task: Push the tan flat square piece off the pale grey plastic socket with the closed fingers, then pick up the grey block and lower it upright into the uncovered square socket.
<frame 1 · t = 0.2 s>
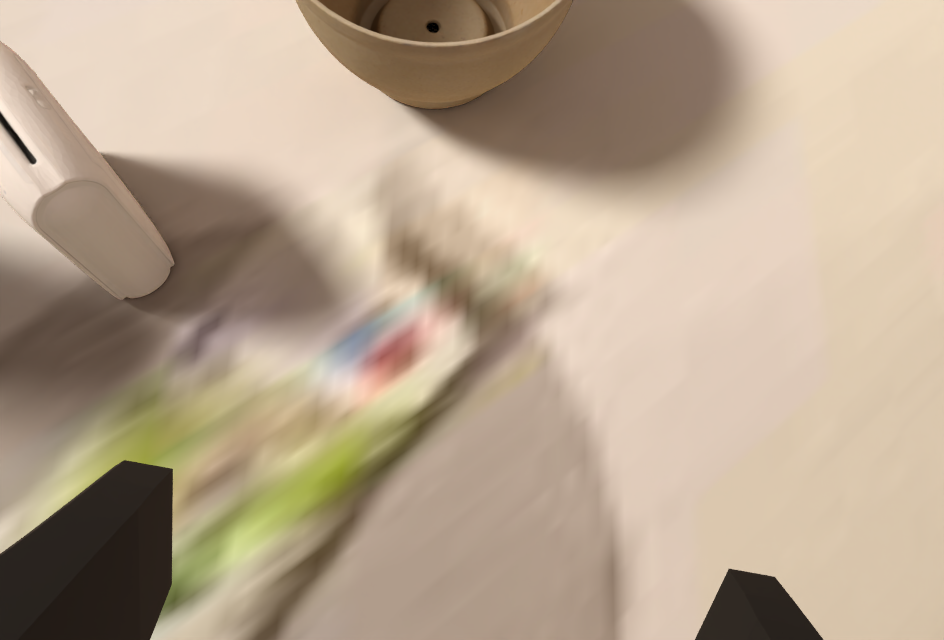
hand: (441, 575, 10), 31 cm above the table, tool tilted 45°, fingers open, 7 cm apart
planter bowl: (435, 46, 49), on the table
photo printer: (108, 226, 45), on the table
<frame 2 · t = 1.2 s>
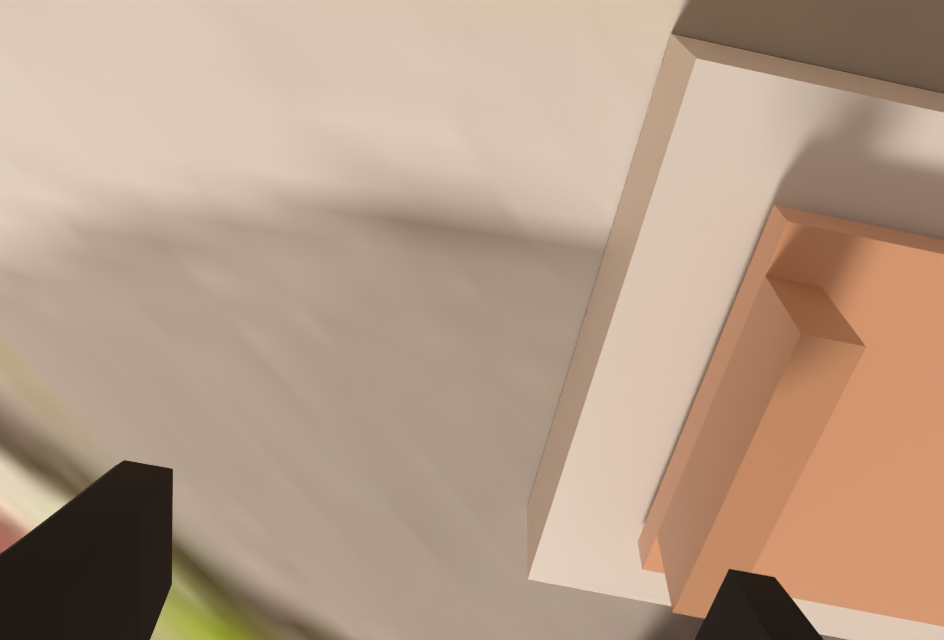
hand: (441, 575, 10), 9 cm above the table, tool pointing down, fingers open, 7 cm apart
socket: (843, 359, 18), on the table
tan flat square piece: (924, 478, 15), point 4 cm above the table, slide at 0.0 cm
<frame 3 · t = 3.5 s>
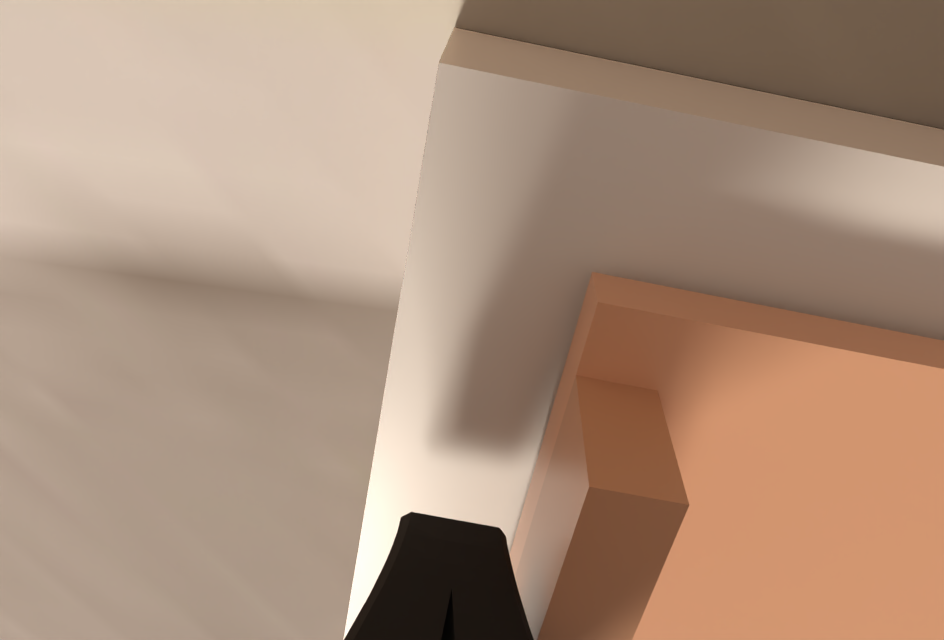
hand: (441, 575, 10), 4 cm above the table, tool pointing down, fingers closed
socket: (725, 444, 14), on the table
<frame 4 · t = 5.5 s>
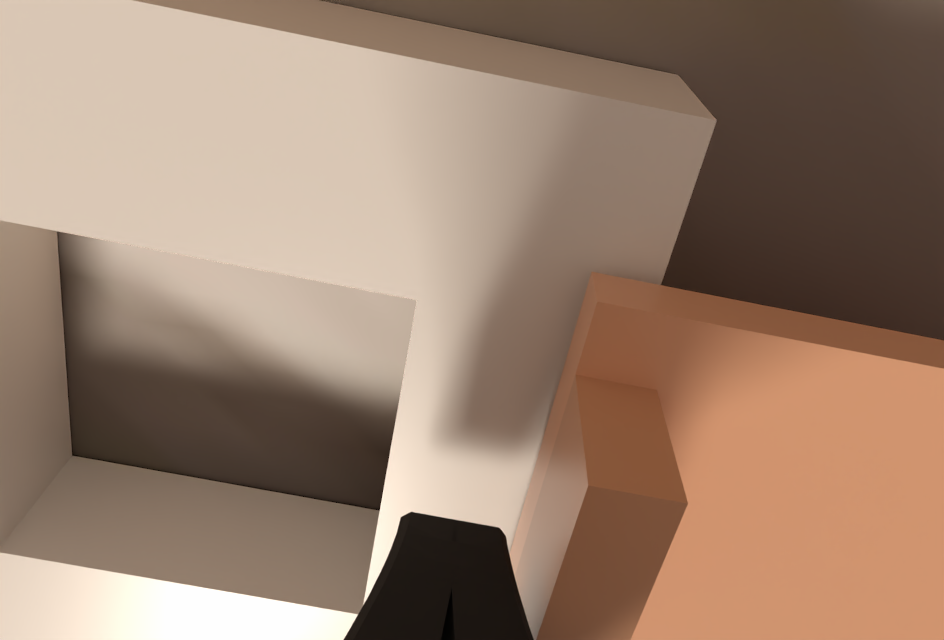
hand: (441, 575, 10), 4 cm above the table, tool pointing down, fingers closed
socket: (236, 352, 14), on the table
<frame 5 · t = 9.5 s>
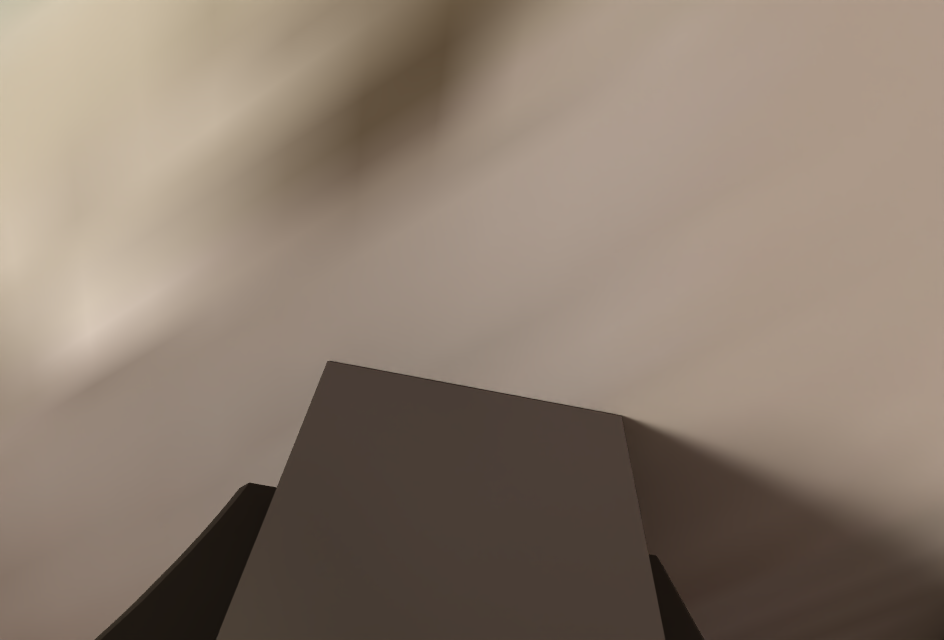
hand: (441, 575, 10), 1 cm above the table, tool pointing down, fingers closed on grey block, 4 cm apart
grey block: (449, 501, 12), on the table, touching gripper
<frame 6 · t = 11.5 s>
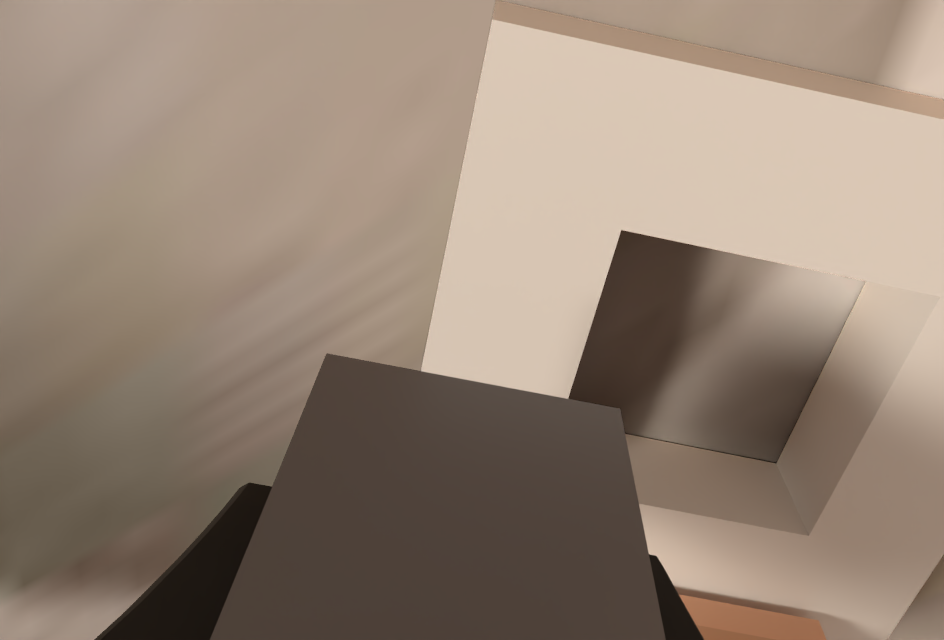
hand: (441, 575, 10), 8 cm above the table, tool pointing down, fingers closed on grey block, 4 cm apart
socket: (699, 336, 18), on the table
grey block: (448, 494, 12), point 7 cm above the table, touching gripper
when the fingers open (3 cm above the table, at t = 13.6 s): grey block drops 2 cm, resting in socket.
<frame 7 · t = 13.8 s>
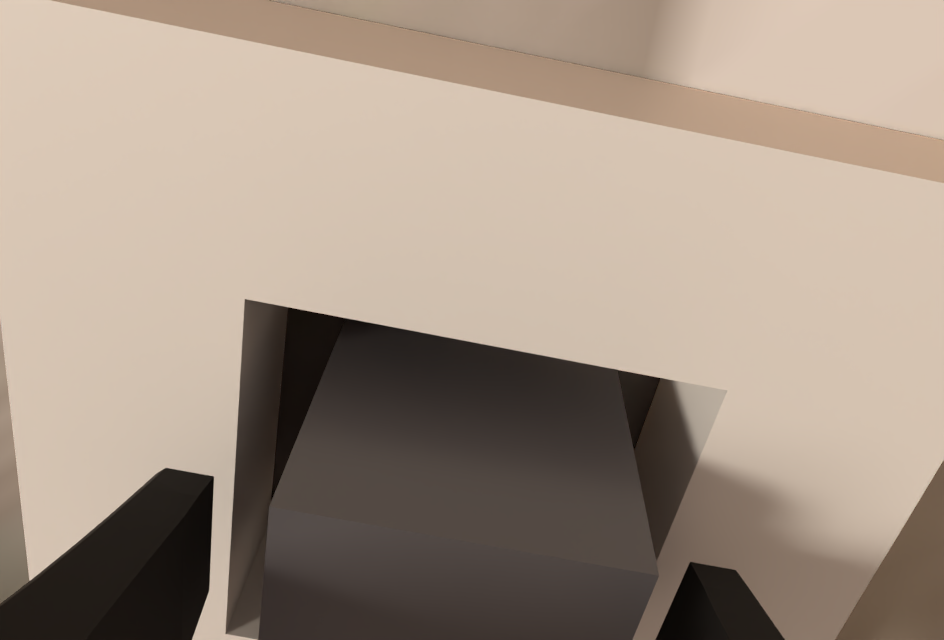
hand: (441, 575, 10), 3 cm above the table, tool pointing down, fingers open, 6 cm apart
socket: (458, 421, 13), on the table
grey block: (462, 413, 13), resting in socket
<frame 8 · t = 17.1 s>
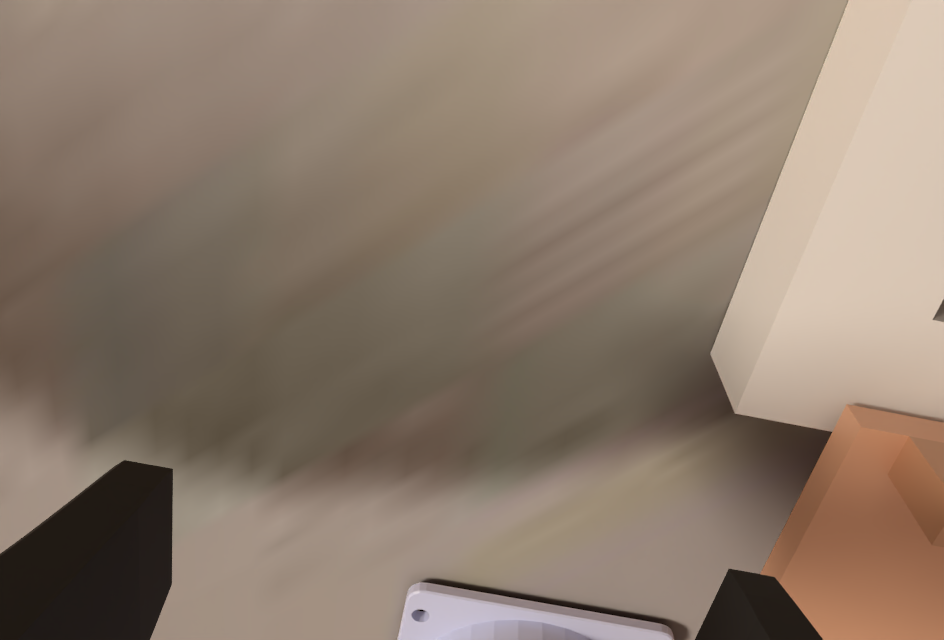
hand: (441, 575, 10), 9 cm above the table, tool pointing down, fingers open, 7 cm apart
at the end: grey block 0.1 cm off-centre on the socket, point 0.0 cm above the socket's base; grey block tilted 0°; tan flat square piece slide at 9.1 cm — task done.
